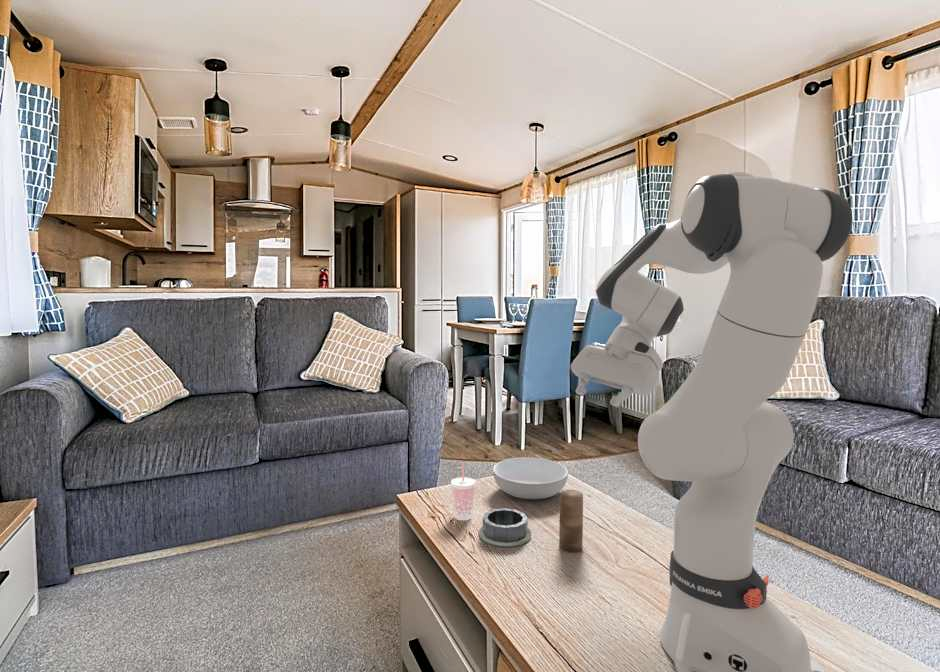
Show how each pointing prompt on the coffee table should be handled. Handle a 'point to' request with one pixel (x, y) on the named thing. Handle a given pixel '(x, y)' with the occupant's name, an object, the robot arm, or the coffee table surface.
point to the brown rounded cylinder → (571, 520)
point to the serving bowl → (530, 477)
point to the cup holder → (505, 528)
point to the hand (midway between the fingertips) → (595, 399)
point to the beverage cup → (463, 496)
